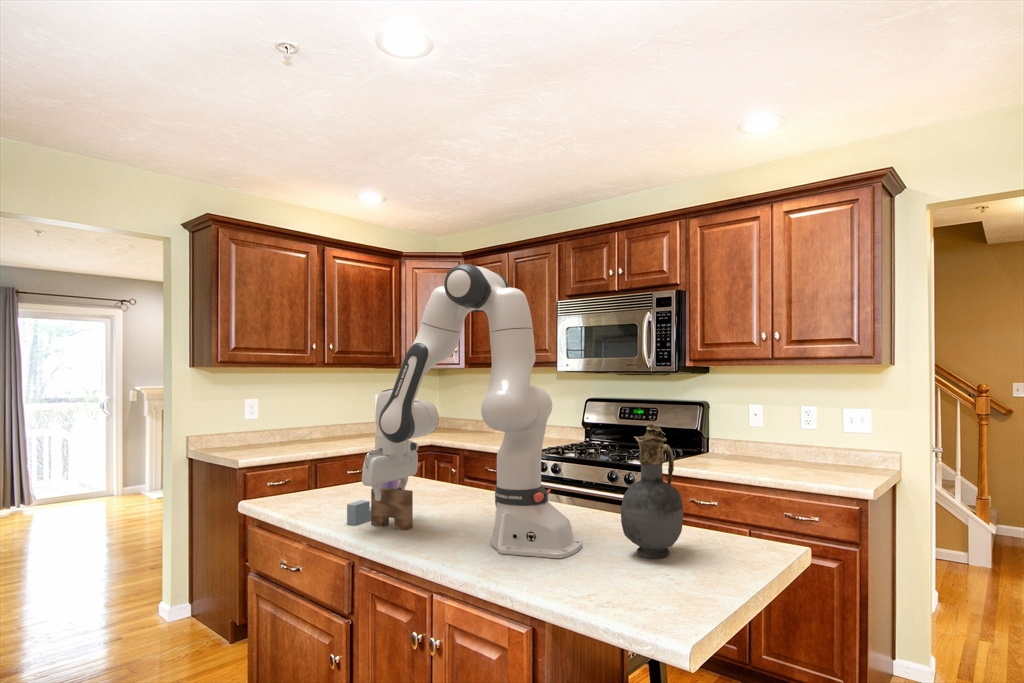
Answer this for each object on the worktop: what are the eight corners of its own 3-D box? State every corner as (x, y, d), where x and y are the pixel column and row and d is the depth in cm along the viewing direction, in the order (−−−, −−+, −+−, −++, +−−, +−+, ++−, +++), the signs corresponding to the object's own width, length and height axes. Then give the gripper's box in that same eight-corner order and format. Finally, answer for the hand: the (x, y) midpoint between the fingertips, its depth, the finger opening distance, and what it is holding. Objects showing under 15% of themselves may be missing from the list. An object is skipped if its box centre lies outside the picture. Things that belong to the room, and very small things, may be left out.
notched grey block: (391, 513, 180) (392, 494, 180) (355, 525, 166) (355, 505, 166) (384, 512, 181) (384, 493, 182) (347, 524, 167) (347, 504, 167)
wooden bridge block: (412, 527, 163) (412, 490, 164) (405, 530, 161) (405, 492, 161) (378, 522, 169) (378, 486, 169) (371, 525, 166) (371, 488, 167)
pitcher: (615, 557, 136) (613, 425, 138) (653, 538, 151) (651, 419, 152) (659, 567, 130) (657, 428, 131) (694, 546, 144) (692, 422, 146)
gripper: (375, 452, 155) (374, 506, 155) (421, 443, 173) (421, 491, 173) (356, 450, 158) (355, 503, 158) (404, 441, 176) (403, 488, 176)
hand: (390, 496), depth 165 cm, fingers open, 8 cm apart
